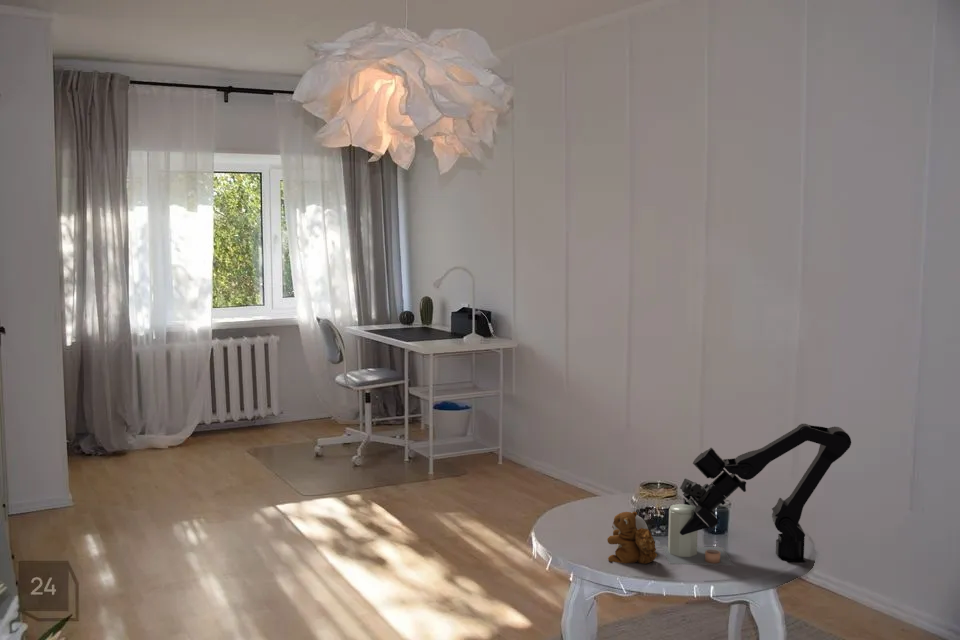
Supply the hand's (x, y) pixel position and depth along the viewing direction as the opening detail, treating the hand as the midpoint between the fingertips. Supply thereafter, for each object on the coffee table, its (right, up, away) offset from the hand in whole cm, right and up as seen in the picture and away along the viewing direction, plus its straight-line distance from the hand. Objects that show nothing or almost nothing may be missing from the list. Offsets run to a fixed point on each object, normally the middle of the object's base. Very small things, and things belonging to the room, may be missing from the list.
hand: (677, 529), depth 249 cm
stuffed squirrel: (-13, -8, -5) cm, 16 cm away
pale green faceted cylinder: (+1, -6, +1) cm, 7 cm away
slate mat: (+5, -7, -2) cm, 9 cm away
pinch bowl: (+8, -7, -6) cm, 12 cm away
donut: (-12, -7, +5) cm, 15 cm away
